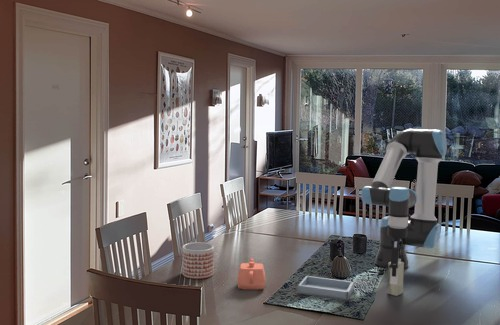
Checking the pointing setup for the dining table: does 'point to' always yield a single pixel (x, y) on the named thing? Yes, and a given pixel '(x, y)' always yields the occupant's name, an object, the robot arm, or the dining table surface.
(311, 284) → the bin
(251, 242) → the dining table surface
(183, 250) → the planter
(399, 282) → the box
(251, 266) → the teapot
